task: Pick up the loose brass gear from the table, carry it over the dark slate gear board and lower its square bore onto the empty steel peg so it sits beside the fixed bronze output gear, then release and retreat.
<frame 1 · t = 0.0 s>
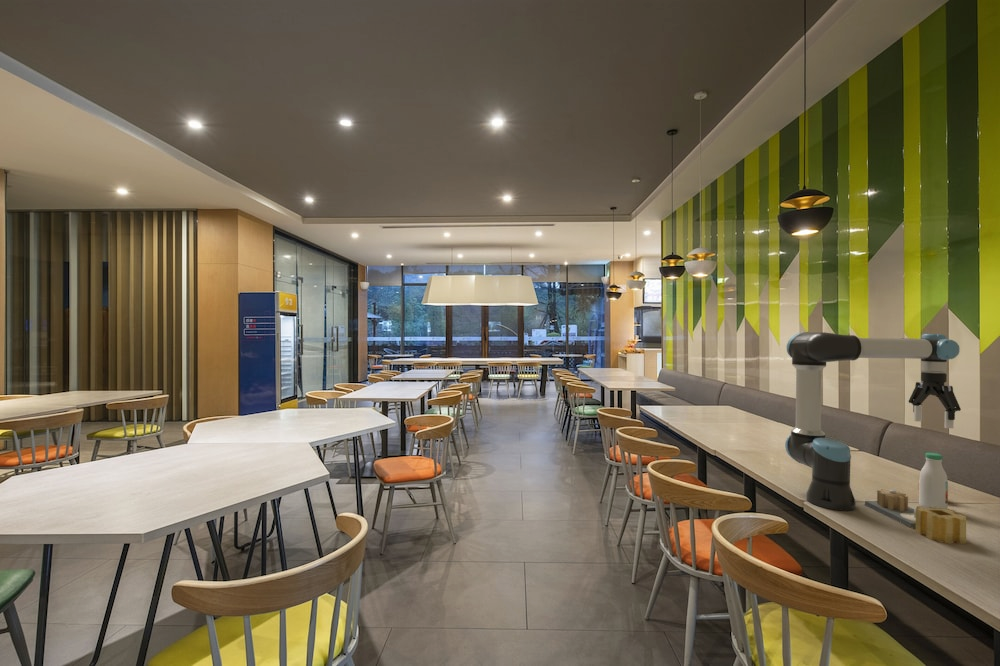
hand: (932, 424, 185), 28 cm above the table, fingers open, 13 cm apart
milk bottle: (933, 508, 170), on the table
gear board: (903, 516, 161), on the table
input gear: (940, 536, 146), on the table
egg: (930, 498, 180), on the table
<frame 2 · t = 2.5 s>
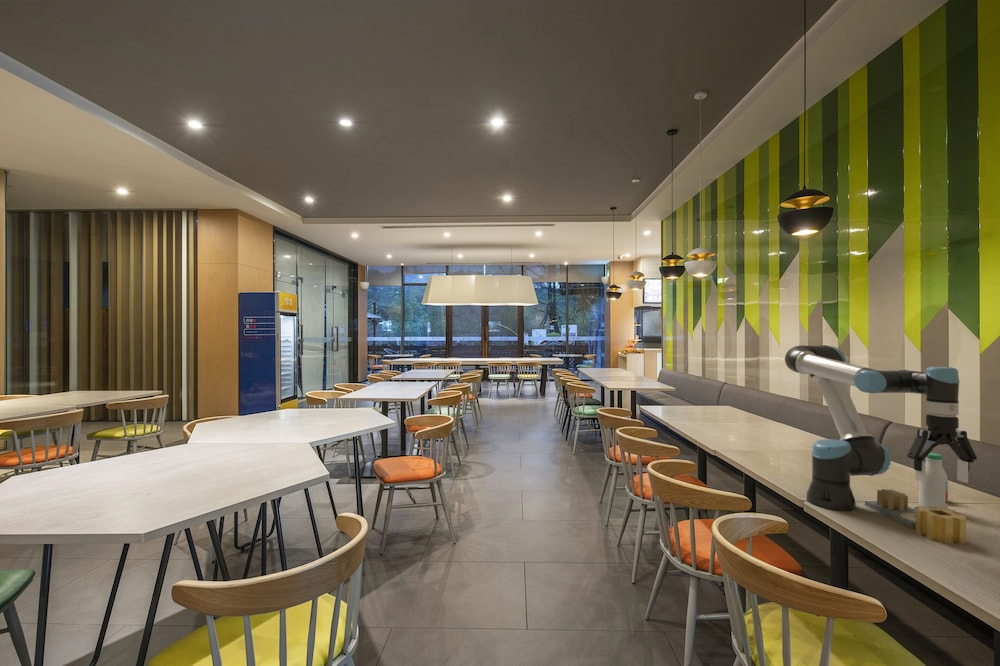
hand: (941, 481, 147), 17 cm above the table, fingers open, 13 cm apart
nothing on the table moved.
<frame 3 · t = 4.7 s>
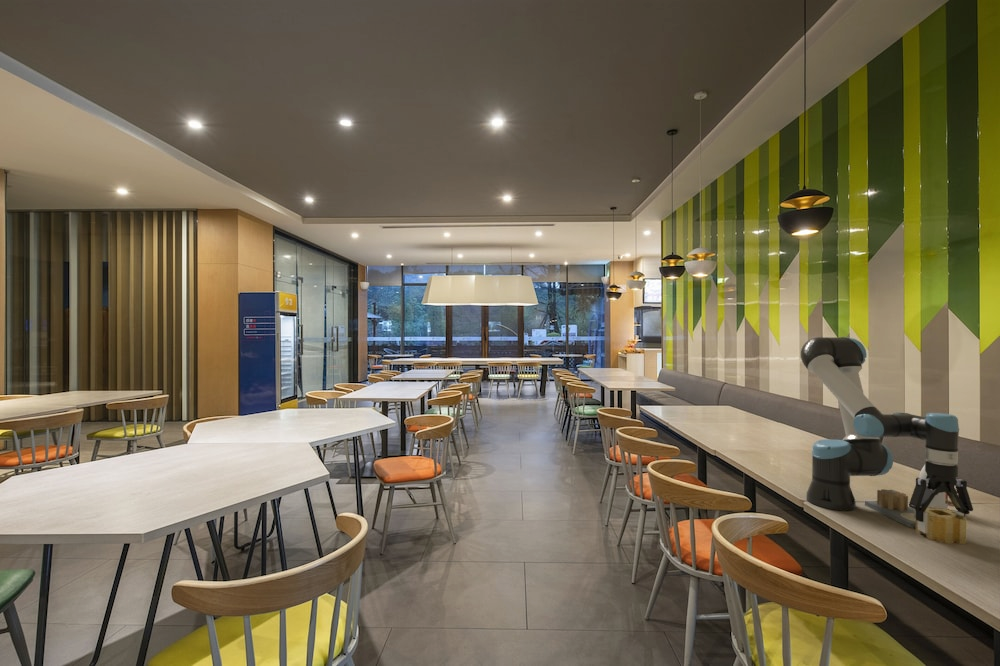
hand: (940, 531, 145), 1 cm above the table, fingers closed on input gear, 10 cm apart
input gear: (940, 536, 146), on the table, touching gripper
everything else where it was.
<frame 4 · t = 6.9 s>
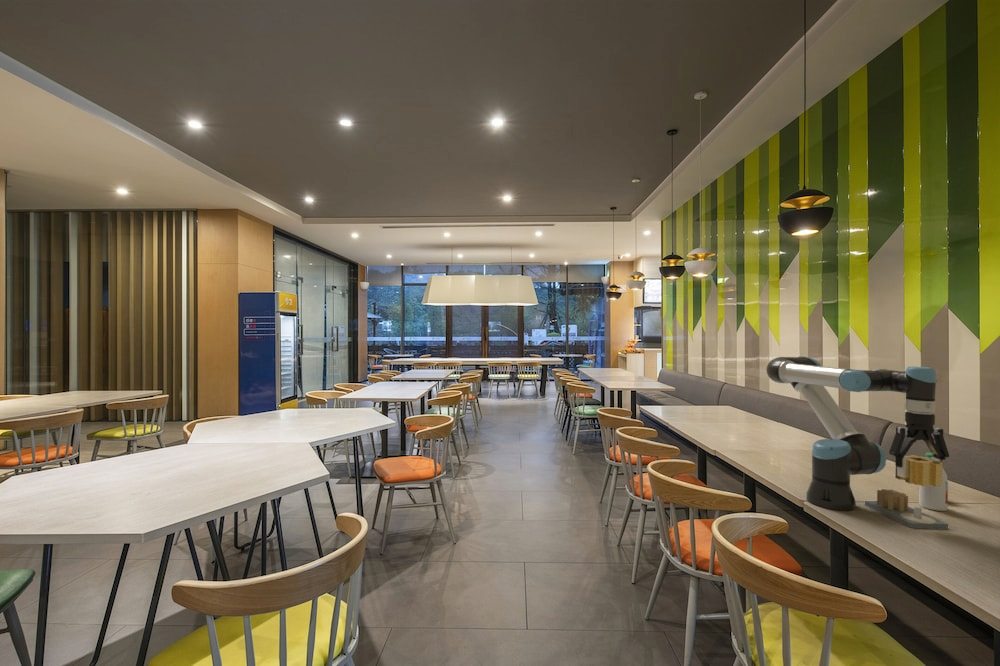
hand: (918, 477, 156), 16 cm above the table, fingers closed on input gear, 10 cm apart
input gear: (918, 481, 156), point 14 cm above the table, touching gripper
everything else where it was.
when the fingers open (4 cm above the table, at t = 9.3 s): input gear stays where it is, resting on gear board.
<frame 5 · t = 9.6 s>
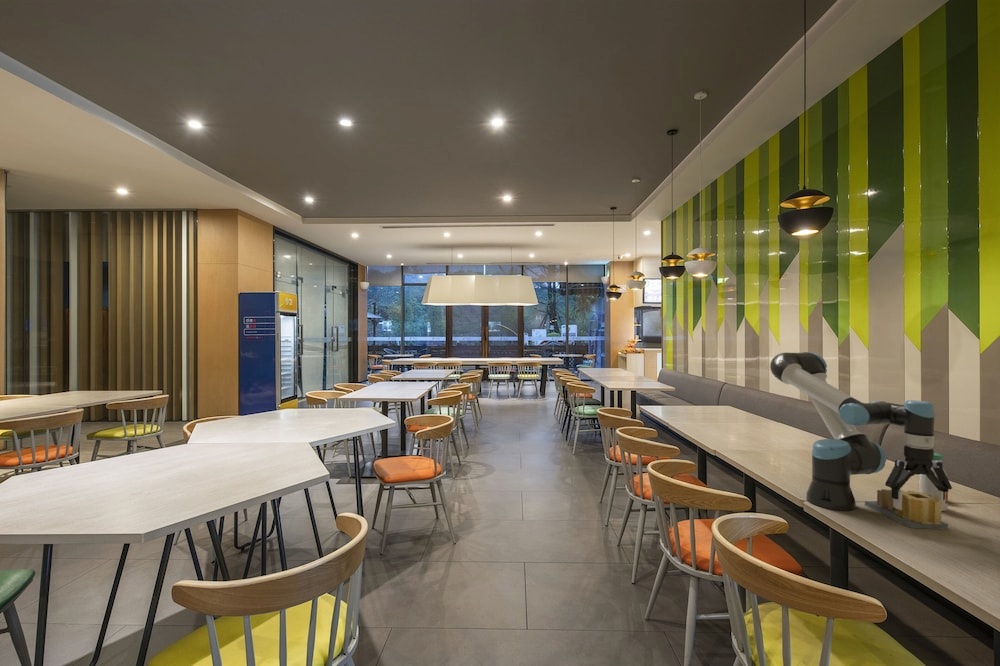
hand: (917, 508, 156), 5 cm above the table, fingers open, 13 cm apart
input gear: (917, 517, 156), point 2 cm above the table, touching gear board
everything else where it was.
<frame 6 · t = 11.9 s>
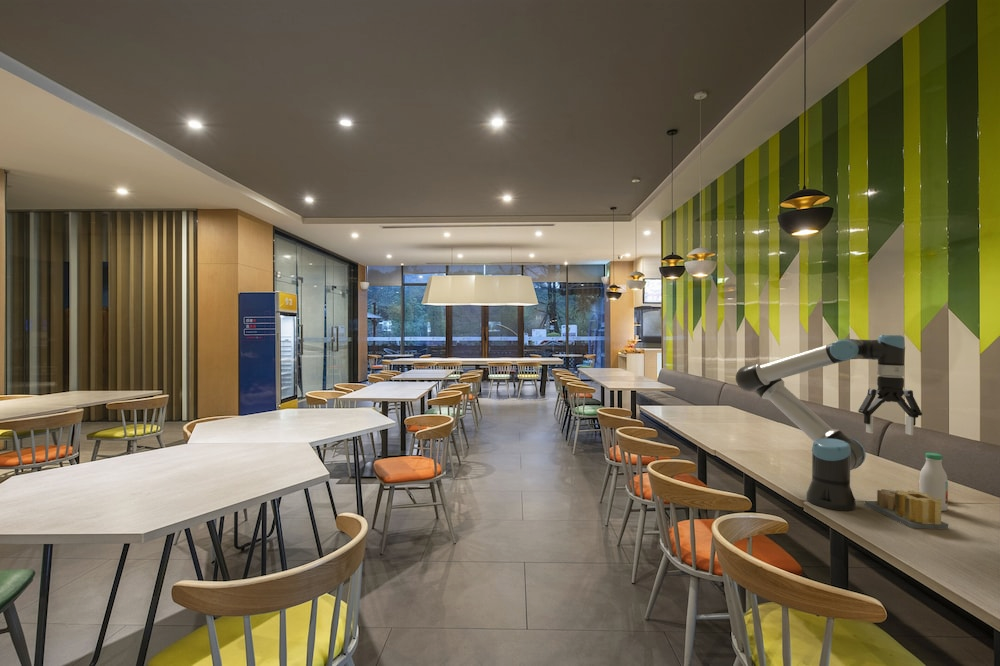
hand: (889, 433, 170), 27 cm above the table, fingers open, 13 cm apart
nothing on the table moved.
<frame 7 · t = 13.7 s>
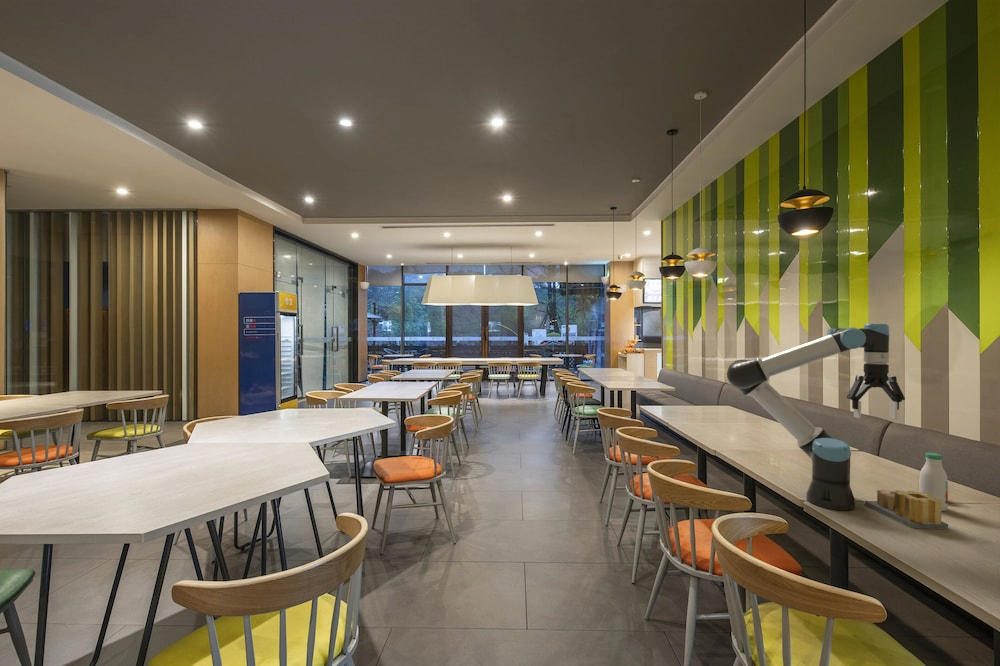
hand: (875, 418, 177), 32 cm above the table, fingers open, 13 cm apart
nothing on the table moved.
at the end: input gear 0.0 cm from the target spot on the gear board, point 1.6 cm above the gear board's base; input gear tilted 0°; the gripper is holding nothing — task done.
